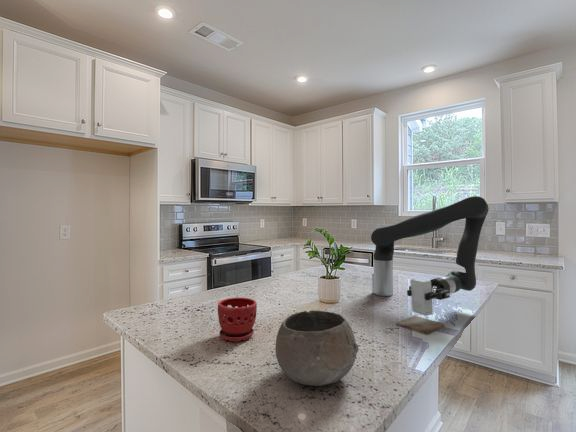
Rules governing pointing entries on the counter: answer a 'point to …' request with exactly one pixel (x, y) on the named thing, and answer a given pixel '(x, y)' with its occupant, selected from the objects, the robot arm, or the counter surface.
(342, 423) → the counter surface
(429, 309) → the skincare box
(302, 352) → the clay pot
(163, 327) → the counter surface
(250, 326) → the plant pot
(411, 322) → the walnut board
